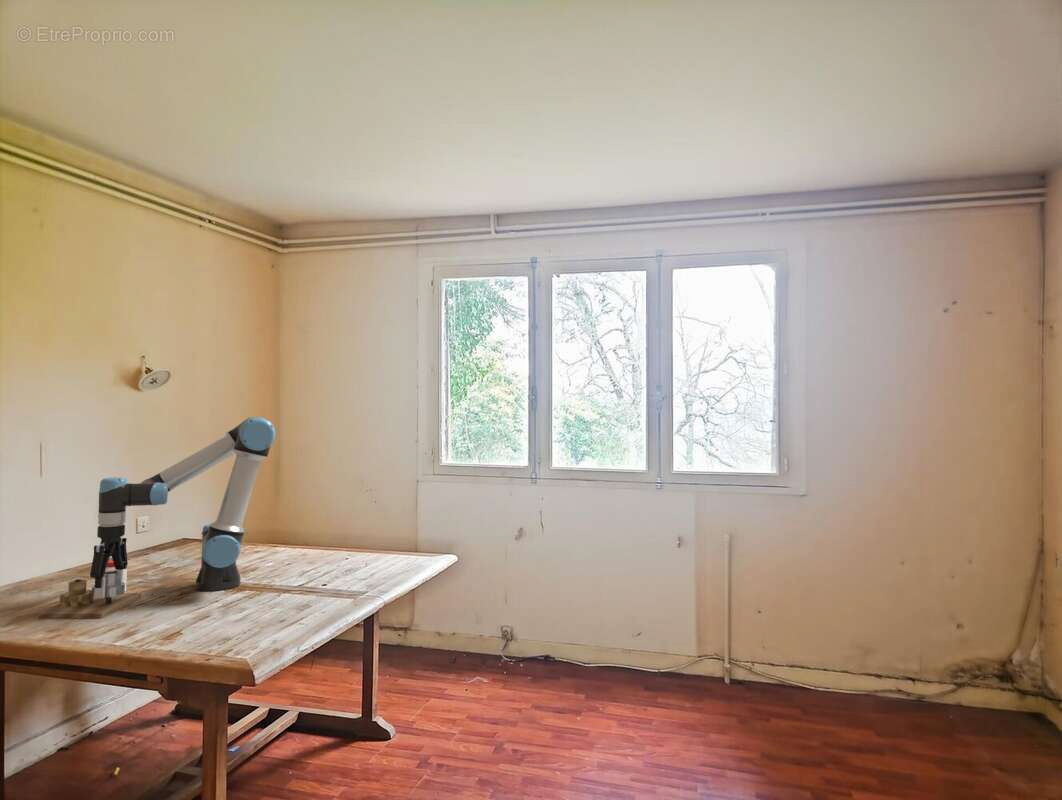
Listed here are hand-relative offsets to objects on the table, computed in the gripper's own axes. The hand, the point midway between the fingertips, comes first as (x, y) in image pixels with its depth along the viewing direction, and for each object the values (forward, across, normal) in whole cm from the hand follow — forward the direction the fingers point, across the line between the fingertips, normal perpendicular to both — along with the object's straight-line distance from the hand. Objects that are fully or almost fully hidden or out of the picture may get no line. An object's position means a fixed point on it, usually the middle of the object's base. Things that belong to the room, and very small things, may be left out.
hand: (108, 593), depth 202 cm
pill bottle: (+5, -18, -9) cm, 21 cm away
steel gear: (0, 0, 0) cm, 0 cm away
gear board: (+5, 0, -5) cm, 7 cm away
